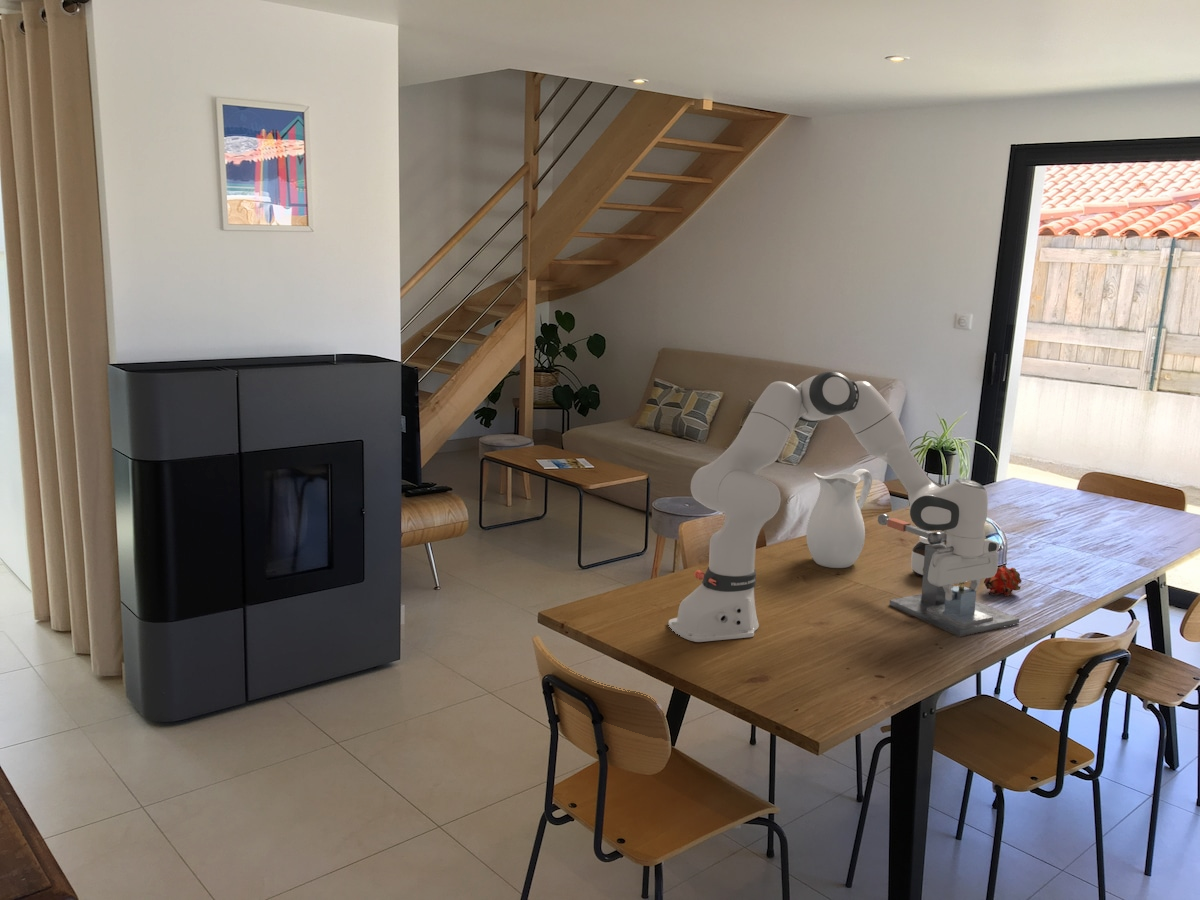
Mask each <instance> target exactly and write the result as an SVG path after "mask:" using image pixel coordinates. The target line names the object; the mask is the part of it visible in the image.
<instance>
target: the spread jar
mask: <svg viewBox="0 0 1200 900" xmlns="http://www.w3.org/2000/svg"><path fill="white" fill-rule="evenodd" d="M929 544H930V543H929V542H928V539H927V538H925V537H922V536H919V540H918V542H917V543H916V544H915V545H914V546H913V548H912V550H911V556H910V557H911V559H910V567H911V570H912V573H914V574H915V575H916V576H917V577H919V578H922V579H923V570H924V557H925V545H929ZM942 544H945V543H942Z"/></svg>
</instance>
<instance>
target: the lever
mask: <svg viewBox="0 0 1200 900" xmlns="http://www.w3.org/2000/svg"><path fill="white" fill-rule="evenodd" d="M877 522H878V524H879V525H881V526H887V527H888V528H892V529H894V530H897V531H900V532H907V533H911V534H914V535H916V536H919V537H920V536H922V537H925V538H927V539H928V542H929V543H930V544H932V545H933V544H940V543H944V544H946V539H947V532H946V531H945V530H940V531H926V530H923V529H920V528H919V527H917V526H916V525H915V526H914V525H912V524H911V522H908V521H905V520H902V519H899V518H896V517H893V518H892V517H890V516H889V515H888V514H887V513H880V514H879V515H878V516H877Z"/></svg>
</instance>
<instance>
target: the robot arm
mask: <svg viewBox="0 0 1200 900" xmlns="http://www.w3.org/2000/svg"><path fill="white" fill-rule="evenodd" d="M834 416H838V417H840V418H841V419H842V420H843V421H844V422H845V423H846V424H847V425H848V427H849V429H850V431H851V433H852V434H853V436H855V438H856V440H857V441H858V443H859V444H860V446H862V447H863V449H865V451H866V452H867V453H868V455H870V456H872V457H875V458H878V459H881V460H883V462H886V464H887V465H889V466H890V468H891V469H892V471H893V473H894V474H895V475H896V477H897V479H898V480H899V482H900V483H901V484H902V486H903V488H905V491H906V493H907V498H908V506H909V516H910V519H911V521H912V523H913V524H914V525H915V527H918V528H920V529H923V530H926V531H930V532H940V531H946V534H947V539H946V542H945V545H946V548H943V549H942V548H940V549H937V551H936V552H935V553H934V554H933V555H932V559H931V562H930V566H929V571H928V581H929V583H930V584H933V585H935V586H938V587H940V586H942V587H943V589H944V591H945V592H946V594H945V599H946V600H948V601H952V600H955V594H954V593H952V590H951V588H953V587H954V585H956V584H959V583H963V582H964V583H967V582H970V585H969V587H968V588H969V589H972V590H975V591H976V592H977V590H978V588H979V586H980V585H981V581H982V580H983V579H984V580H985V579H986V578H990V577H994V576H995V574H996V573H997V568H999V567H998V566H999V553H998V551H999V549H1000V543H999V542H997V541H994V540H992V539H989V538H986V532H985V531H986V530H985V524H986V521H987V518H988V506H989V505H988V503H989V502H988V501H989V499H988V493H987V490H986V488H985V487H984V486H983V485H982V484H981V483H979V482H976V481H975V480H970V479H965V478H956V479H955V480H953V481H952V482H950V483H949V484H948V483H947V484H945V485H943V486H942V485H941V484H940V483H938V482H936V481H935V480H934V479H932V478H930V477H929V476H928V475H927V473H926V472H925V470H924V469H923V467H922V466H921V464H920V463H919V461H918V460H917V459H916V457H915V455H914V454H913V453H912V451H911V449H910V447H909V444H908V442H907V438H906V434H905V431H904V429H903V427H902V424H901V422H900V421H899V419H898V417H897V415H896V414H895V412H894V410H893V409H892V407H891V406H890V405H889V403H888V402H887V400H886V399H885V398H884V397H883V396H882V394H881V393H880V392H879V391H878V389H876V388H875V386H873V385H872V384H871V383H870V382H868V381H866V380H858V381H853V380H851V379H849V377H847V376H846V375H844V374H843V373H840V372H838V371H837V372H836V371H832V370H831V371H823V372H821V373H819V374H817V375H813V376H810V377H808V378H806V379H805V380H803V381H801V382H799V383H798V384H796V385H793V384H792V383H790V382H787V381H783V380H782V381H781V380H779V381H777V380H776V381H773V382H770V384H768V385H767V386H766V388H765V389H764V390H763V392H762V393H761V395H760V396H759V397H758V398H757V400H756V401H755V403H754V405H753V407H752V408H751V410H750V412H749V414H748V416H747V418H746V420H745V421H744V423H743V425H742V427H741V429H740V430H739V433H738V434H737V436H736V438H735V439H734V440H733V441H732V443H731V444H730V445H729V447H728V448H727V449H725V451H724V452H723V453H722V454H720V455H719V456H718V457H717V458H716V459H715V460H713V461H711V462H710V463H708V464H706V465H704V466H702V467H700V468H698V469H697V470H696V471H695V472H694V473H693V475H692V478H691V481H690V492H691V496H692V497H693V499H694V500H695V501H696V502H698V503H699V504H701V505H703V506H704V507H705V508H708V509H710V510H713V511H715V512H719V513H722V514H724V515H725V516H724V517H725V518H724V521H723V526H722V528H721V529H719V530H717V531H716V532H714V533H713V534H712V535H711V537H710V539H709V556H708V557H709V558H708V560H709V561H708V567H707V569H706V571H705V572H704V571H702V570H700V569H697V570H696V571H695V572H694V577H695V578H696V579H698V580H700V581H701V580H702V581H701V584H700V585H698V586H697V587H696V588H695V589H694V590H692V592H691V593H690V594H689V595H687V596H686V597H684V599H682V600H681V601H680V604H679V607H678V611H677V617H673V618H671V619H668V622H667V623H668V624H667V625H669V626H668V628H669V627H670V628H671V629H672V630H671V629H670V628H669V629H670V630H671V631H672V632H673V631H674V632H675V633H674V632H673V633H674V634H676V635H677V634H678V635H677V636H679V635H680V636H679V637H680V638H682V639H683V638H684V639H685V640H688V641H691V642H695V643H703V642H713V641H722V640H723V641H725V640H736V639H743V638H744V639H746V638H752V637H754V636H755V632H756V631H757V630H758V629H759V627H760V623H759V621H758V617H757V616H758V615H757V610H756V602H755V588H756V585H757V579H756V578H757V577H756V576H757V571H756V569H755V564H756V549H757V547H756V546H757V541H758V538H759V537H758V536H759V535H760V532H761V530H762V528H763V527H764V525H765V524H766V523H767V522H768V521H770V520H771V519H773V517H774V516H775V515H776V514H777V513H778V511H779V509H780V506H781V500H782V499H781V498H782V497H781V492H780V489H779V487H778V486H777V485H776V484H775V483H774V482H772V481H770V480H768V479H767V478H765V477H763V476H761V475H759V474H757V472H759V471H760V470H762V469H763V468H766V467H769V466H770V465H772V464H774V463H776V461H777V460H778V459H779V457H780V455H781V453H782V451H783V449H784V447H785V445H786V443H787V441H788V439H789V437H790V435H791V433H792V431H793V429H794V427H795V424H796V423H797V422H798V420H799V421H803V422H807V423H816V422H818V421H823V420H827V419H830V418H832V417H834Z"/></svg>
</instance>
